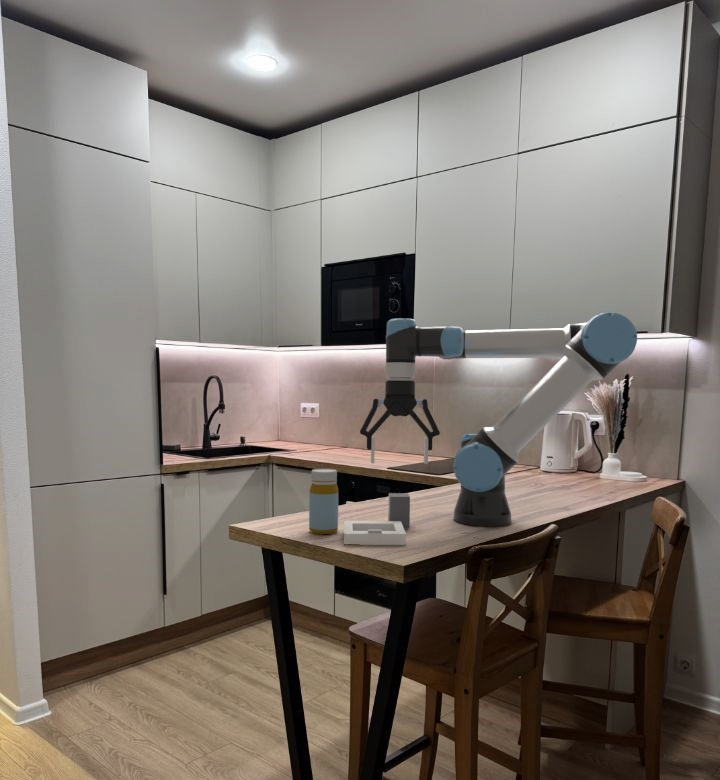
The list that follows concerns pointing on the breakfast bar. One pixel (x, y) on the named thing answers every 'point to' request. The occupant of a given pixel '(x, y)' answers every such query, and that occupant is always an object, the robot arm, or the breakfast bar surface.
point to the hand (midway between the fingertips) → (399, 463)
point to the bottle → (323, 502)
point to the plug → (399, 508)
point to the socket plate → (374, 533)
